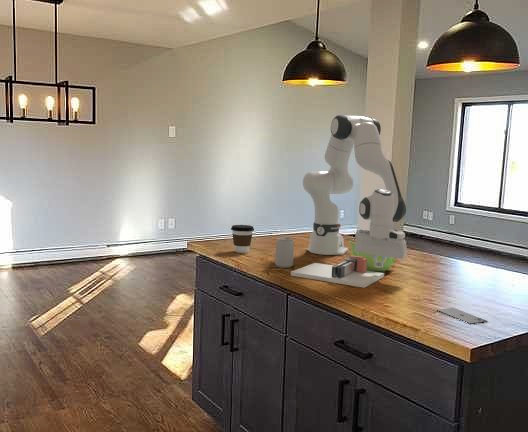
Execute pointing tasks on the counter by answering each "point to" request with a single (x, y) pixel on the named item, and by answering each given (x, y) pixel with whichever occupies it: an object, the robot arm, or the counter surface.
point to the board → (325, 274)
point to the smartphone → (462, 315)
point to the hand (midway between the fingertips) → (378, 267)
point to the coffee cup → (242, 237)
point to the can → (284, 252)
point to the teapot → (370, 261)
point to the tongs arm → (334, 268)
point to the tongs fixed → (347, 267)
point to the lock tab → (360, 263)
